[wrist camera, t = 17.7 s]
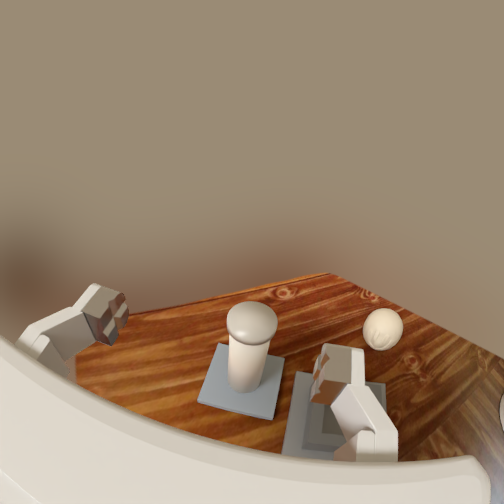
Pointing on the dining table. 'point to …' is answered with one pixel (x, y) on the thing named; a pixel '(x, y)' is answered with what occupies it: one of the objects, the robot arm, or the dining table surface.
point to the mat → (244, 403)
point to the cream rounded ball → (382, 329)
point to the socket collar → (316, 422)
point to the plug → (249, 344)
